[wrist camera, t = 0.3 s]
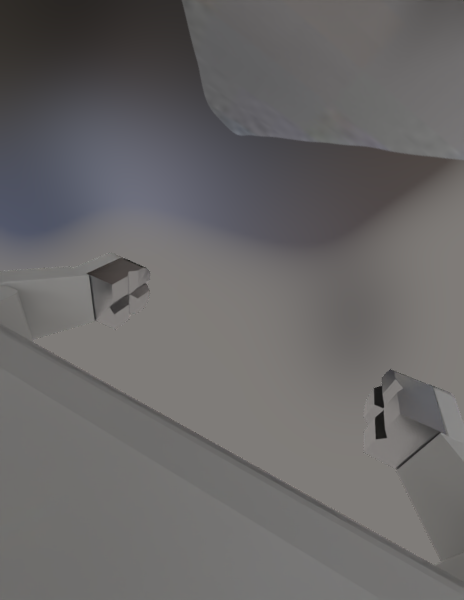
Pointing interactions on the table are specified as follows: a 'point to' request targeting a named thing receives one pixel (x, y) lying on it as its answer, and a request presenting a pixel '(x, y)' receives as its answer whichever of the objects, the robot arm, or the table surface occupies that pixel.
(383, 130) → the table surface
